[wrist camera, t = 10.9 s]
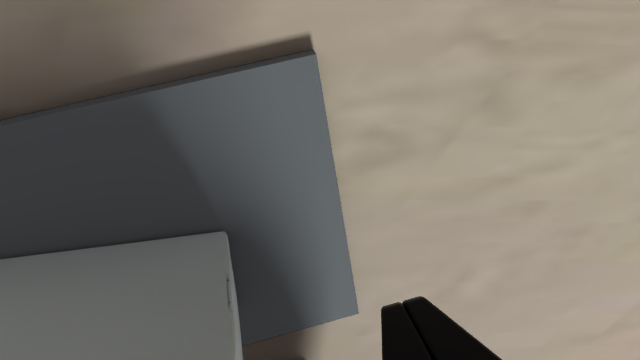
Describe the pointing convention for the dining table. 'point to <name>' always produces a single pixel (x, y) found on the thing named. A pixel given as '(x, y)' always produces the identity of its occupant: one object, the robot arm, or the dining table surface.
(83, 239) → the mat
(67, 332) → the skincare box
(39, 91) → the dining table surface
